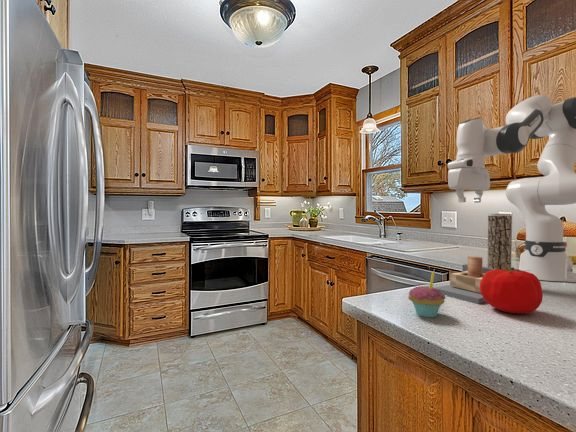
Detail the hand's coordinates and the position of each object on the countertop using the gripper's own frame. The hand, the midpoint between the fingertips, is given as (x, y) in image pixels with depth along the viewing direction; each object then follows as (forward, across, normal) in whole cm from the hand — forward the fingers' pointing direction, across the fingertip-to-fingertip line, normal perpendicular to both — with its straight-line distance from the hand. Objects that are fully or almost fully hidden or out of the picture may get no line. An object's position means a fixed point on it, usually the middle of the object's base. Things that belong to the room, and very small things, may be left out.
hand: (469, 202), depth 111 cm
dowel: (+28, +12, +9) cm, 32 cm away
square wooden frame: (+27, +12, +9) cm, 31 cm away
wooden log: (+29, -4, +8) cm, 31 cm away
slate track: (+29, +14, +9) cm, 33 cm away
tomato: (+29, +22, +23) cm, 43 cm away
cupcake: (+29, +43, +14) cm, 54 cm away
